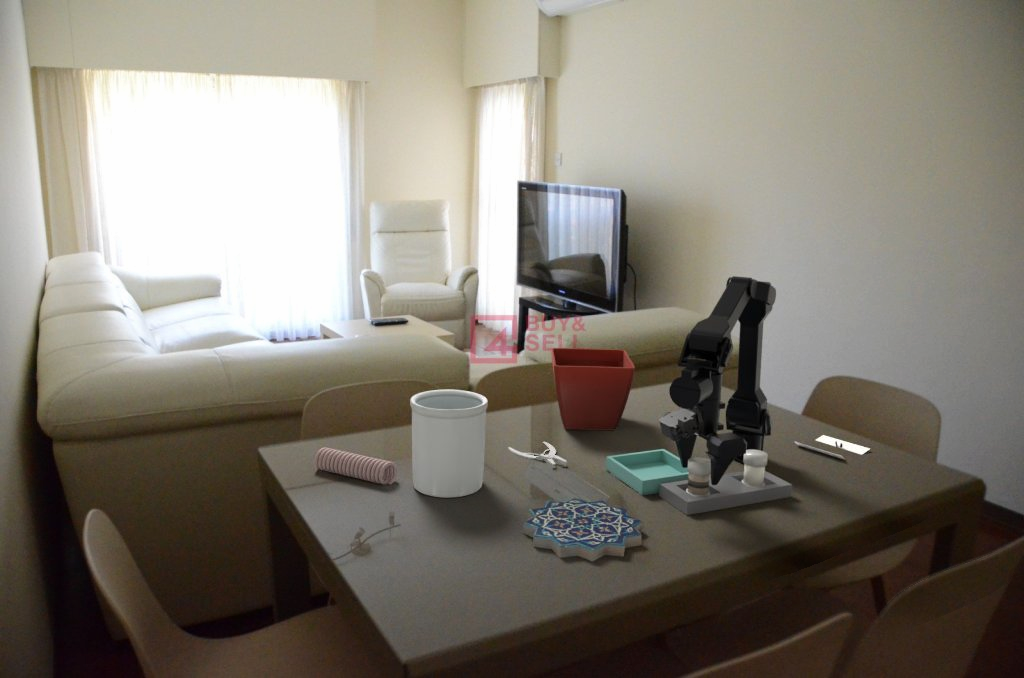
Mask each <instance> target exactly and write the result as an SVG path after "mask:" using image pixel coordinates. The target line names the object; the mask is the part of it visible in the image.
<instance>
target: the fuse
mask: <svg viewBox="0 0 1024 678" xmlns="http://www.w3.org/2000/svg"><path fill="white" fill-rule="evenodd" d="M768 457H769V454H768V453H767V452H766V451H764V450H763V451H760V450H753V449H751V450H746V454H744V458H743V463H742V464H744V465H743V466H744V468H743V469H744V470H743V471H744V478H743V480H742V483H744V484H746V485H747V486H749V487H751V488H752V487H758V486H765V483H764V473H765V471H766V467H767V465H768Z"/></svg>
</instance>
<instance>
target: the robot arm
mask: <svg viewBox="0 0 1024 678" xmlns="http://www.w3.org/2000/svg"><path fill="white" fill-rule="evenodd" d="M776 297H777V290H776V287H774V285H772V283H771V282H770V281H764V280H763V281H762V280H761V281H760V280H757V279H755V278H752V277H748V276H735V275H733V276H732V277H731V276H730V277H728V278H727V280H726V286H725V289H724V290H723V292H722V294H721V296H720V298H719V299H718V301H716V302H717V303H716V304H715V306H714V308H713V309H712V311H711V313H710V315H709V316H708V317H706V318H704V319H701V320H700V321H698V322H697V323H696V324H695V325H694V326H693V327H692V328H691V330H690V332H688V333H687V335H686V337H685V341H684V343H683V346H682V350H681V353H680V356H679V359H678V363H677V367H681V368H683V369H681V371H680V372H681V373H680V374H681V375H679V376H678V377H676V378H675V379H674V380H672V382H671V383H670V386H669V389H668V390H669V392H668V393H669V397H670V399H671V401H672V402H673V403H674V405H676V406H677V407H679V409H677V410H673V411H667V412H665V413H664V415H662V417H660V418H659V419H658V423H659V425H660V429H661V433H662V436H663V437H667V438H668V439H670V440H671V441H672V442H674V443H675V446H676V449H677V452H678V457H679V458H680V461H681V465H682V467H683V468H687V467H688V459H690V458H692V455H693V451H694V449H695V445H696V441H697V438H698V437H700V438H702V439H704V440H706V445H705V447H706V449H707V451H705V454H706V455H707V456H708V457H709V458H710V459H709V460H711V474H710V476H711V484H712V485H717V484H718V483H719V481H720V480H721V478H722V476H723V475H724V474H726V471H727V470H728V469H729V467H730V465H731V464H732V463H733V461H734V460H736V461H738V462H740V463H741V464H744V463H743V458H744V454H746V450H751V449H753V450H760V451H764V443H765V438H766V437H767V436H769V437H771V436H772V430H773V420H772V417H771V414H770V410H769V408H768V398H767V396H766V395H765V393H764V391H763V389H762V387H761V374H762V373H761V371H762V358H763V357H762V355H763V339H764V338H763V336H764V321H766V319H767V317H768V316H769V315H770V313H771V312H772V310H773V306H774V304H775V301H776ZM737 322H739V338H738V339H739V340H738V341H739V342H738V360H737V361H738V362H737V363H738V365H737V383H736V385H737V386H736V390H735V391H734V392H733V394H732V395H731V396H730V398H729V399H728V401H727V405H726V403H725V402H723V401H722V399H721V398H722V387H723V386H722V385H723V370H724V369H725V368H727V366H728V364H729V361H730V358H731V356H732V353H733V350H734V344H733V339H732V331H733V330H734V327H735V326H736V324H737ZM721 410H725V424H723V423H721V422H720V415H721V414H720V413H721ZM724 426H726V429H725V430H728V431H731V432H723V433H718V431H723V430H724V428H725V427H724Z"/></svg>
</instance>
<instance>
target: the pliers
mask: <svg viewBox="0 0 1024 678" xmlns="http://www.w3.org/2000/svg"><path fill="white" fill-rule="evenodd" d="M543 443H544V444H545V445H546V446H547V447H548V448H549V449H548V448H547V447H546V446H545V445H544V444H543ZM542 444H543V445H544V446H545V447H546V448H547V449H545V450H544V451H543V453H540V454H539V453H533V452H521V451H519V450H517V449H515V448H512V447H511V446H509V447H507V449H508V451H509V452H511V453H512V454H514V455H517V456H518V457H521V458H525V459H528V460H534V458H536V457H537V458H541V459H547V460H546V461H547V462H549V463H550V464H552V465H556V466H557V464H556V463H555V462H554V461H556V462H559V463H561V464H564V465H567V466H568V461H567V460H566V459H564V458H563V457H561V456H559V455H557V450H556V448H555V447H554V446H553V445H552V444H550V443H549V442H547V441H543V442H542ZM549 450H550V451H549ZM546 451H549V452H548V454H547V452H546ZM545 452H546V453H545ZM544 454H545V455H544ZM555 454H556V455H555ZM534 455H539V456H534Z"/></svg>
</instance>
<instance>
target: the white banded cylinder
mask: <svg viewBox="0 0 1024 678" xmlns="http://www.w3.org/2000/svg"><path fill="white" fill-rule="evenodd" d="M687 471H688V472H689V477H688V488H687V489H686V492H687V493H689V494H690V495H692V496H693V497H698V496H704V495H710V492H709V491H708V490H709V476H711V459H709V458H706V457H698V456H697V457H696V456H695V457H691V458H690V459H688V468H687Z"/></svg>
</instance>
